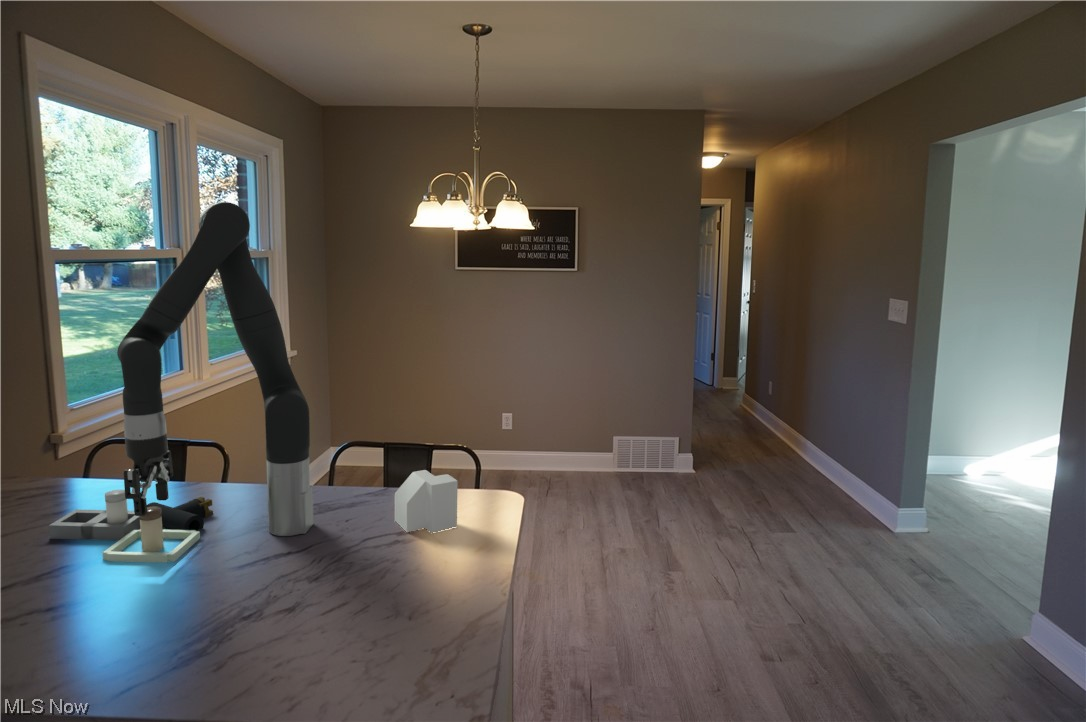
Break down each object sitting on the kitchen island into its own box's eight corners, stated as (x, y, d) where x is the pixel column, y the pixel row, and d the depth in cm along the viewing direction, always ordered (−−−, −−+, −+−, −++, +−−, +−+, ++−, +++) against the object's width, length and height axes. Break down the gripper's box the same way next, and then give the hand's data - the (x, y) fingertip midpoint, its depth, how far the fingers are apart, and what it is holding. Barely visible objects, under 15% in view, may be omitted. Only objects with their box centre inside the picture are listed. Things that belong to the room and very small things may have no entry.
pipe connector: (185, 489, 169) (227, 501, 162) (187, 510, 170) (228, 522, 163) (140, 505, 159) (183, 519, 152) (142, 527, 160) (184, 541, 153)
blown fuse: (167, 546, 148) (165, 506, 147) (157, 554, 144) (154, 514, 142) (148, 545, 148) (145, 506, 146) (137, 554, 144) (134, 513, 142)
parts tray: (201, 541, 153) (201, 530, 152) (173, 567, 140) (172, 555, 140) (135, 539, 152) (135, 528, 152) (101, 565, 140) (100, 553, 140)
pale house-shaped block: (456, 528, 164) (457, 480, 162) (412, 538, 158) (412, 488, 156) (437, 513, 173) (437, 467, 171) (394, 522, 167) (394, 474, 164)
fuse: (132, 527, 156) (130, 489, 154) (122, 535, 152) (119, 496, 150) (114, 527, 156) (111, 489, 154) (103, 534, 152) (100, 496, 150)
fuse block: (147, 527, 158) (146, 511, 158) (125, 544, 149) (123, 527, 149) (77, 525, 158) (75, 509, 157) (50, 542, 149) (48, 525, 148)
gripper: (145, 443, 135) (152, 521, 138) (181, 423, 149) (186, 495, 152) (106, 442, 134) (114, 521, 137) (146, 423, 148) (152, 494, 151)
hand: (152, 507), depth 144 cm, fingers open, 8 cm apart
